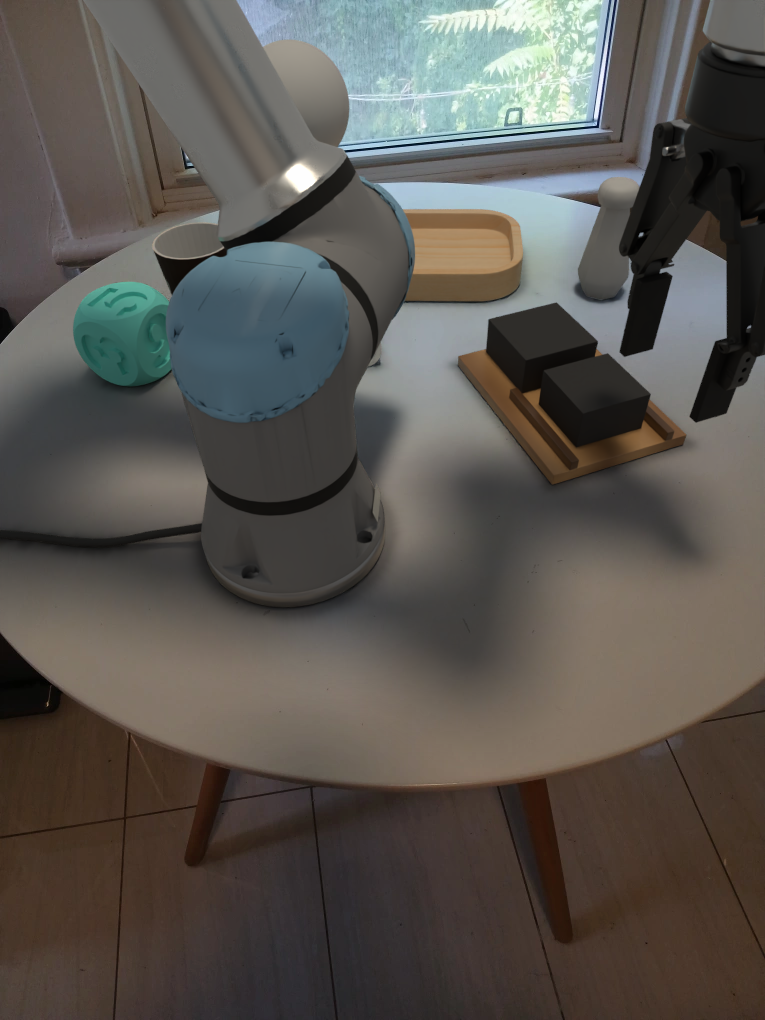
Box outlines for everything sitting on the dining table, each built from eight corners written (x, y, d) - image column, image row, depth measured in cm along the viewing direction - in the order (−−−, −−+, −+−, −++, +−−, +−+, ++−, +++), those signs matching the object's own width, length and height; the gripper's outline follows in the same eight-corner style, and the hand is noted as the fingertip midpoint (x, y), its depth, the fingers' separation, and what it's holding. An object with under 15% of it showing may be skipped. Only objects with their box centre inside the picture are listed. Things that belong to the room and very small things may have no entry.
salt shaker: (573, 278, 90) (590, 170, 81) (620, 278, 90) (644, 170, 80) (577, 303, 86) (596, 192, 77) (627, 304, 86) (652, 192, 76)
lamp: (515, 236, 98) (537, 14, 80) (522, 303, 86) (550, 61, 68) (274, 235, 101) (242, 21, 83) (248, 301, 89) (205, 67, 71)
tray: (551, 485, 65) (555, 467, 64) (457, 365, 78) (458, 347, 77) (683, 444, 68) (690, 426, 67) (571, 335, 81) (574, 318, 80)
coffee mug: (233, 344, 83) (215, 261, 75) (162, 338, 84) (138, 256, 77) (265, 292, 90) (251, 212, 83) (199, 287, 92) (181, 208, 85)
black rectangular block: (575, 447, 67) (583, 413, 64) (538, 404, 71) (543, 370, 69) (641, 428, 68) (651, 393, 65) (600, 386, 73) (607, 352, 70)
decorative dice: (131, 339, 84) (110, 275, 78) (190, 352, 82) (172, 288, 76) (87, 378, 79) (61, 313, 73) (148, 394, 77) (126, 327, 71)
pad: (521, 393, 73) (525, 360, 70) (485, 351, 78) (488, 318, 75) (591, 374, 74) (598, 341, 72) (551, 334, 80) (556, 301, 77)
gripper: (996, 91, 34) (809, 452, 51) (705, -2, 48) (632, 305, 64) (870, 117, 33) (719, 481, 49) (606, 12, 46) (557, 324, 63)
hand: (670, 381), depth 57 cm, fingers open, 8 cm apart
